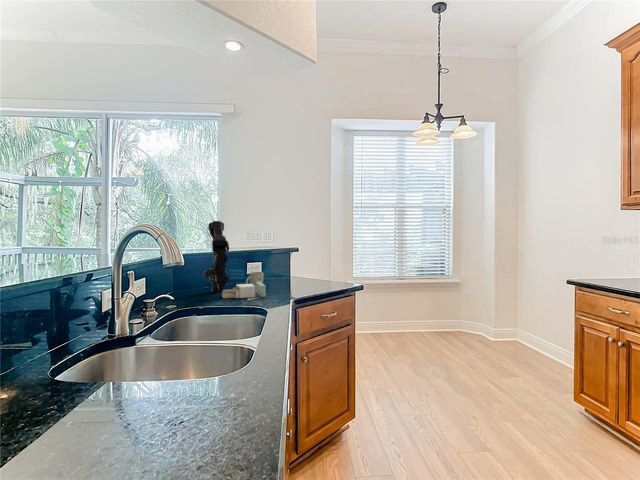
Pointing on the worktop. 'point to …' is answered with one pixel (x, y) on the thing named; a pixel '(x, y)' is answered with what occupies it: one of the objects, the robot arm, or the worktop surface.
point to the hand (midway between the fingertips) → (220, 292)
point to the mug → (255, 278)
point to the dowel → (229, 293)
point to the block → (245, 290)
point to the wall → (261, 289)
